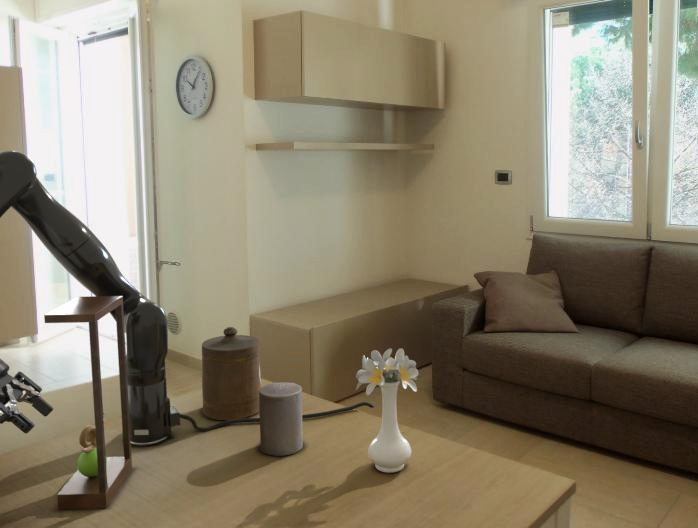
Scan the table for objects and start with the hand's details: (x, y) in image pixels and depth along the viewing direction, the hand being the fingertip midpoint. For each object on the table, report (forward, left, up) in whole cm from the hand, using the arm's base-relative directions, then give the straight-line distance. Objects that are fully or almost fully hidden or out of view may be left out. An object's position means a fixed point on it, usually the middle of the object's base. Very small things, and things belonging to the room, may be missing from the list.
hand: (40, 421), depth 135 cm
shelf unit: (-9, +5, -14) cm, 18 cm away
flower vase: (-63, +29, -15) cm, 71 cm away
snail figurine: (-8, +5, -12) cm, 15 cm away
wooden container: (-47, -20, -14) cm, 53 cm away
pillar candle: (-48, +8, -15) cm, 50 cm away
